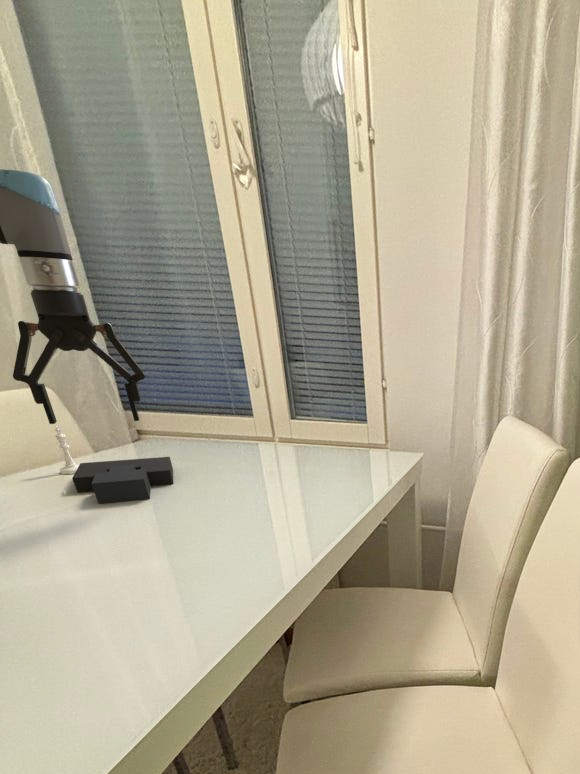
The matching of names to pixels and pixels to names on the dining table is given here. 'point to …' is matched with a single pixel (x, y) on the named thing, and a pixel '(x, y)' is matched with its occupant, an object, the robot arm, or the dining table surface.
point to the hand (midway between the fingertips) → (96, 421)
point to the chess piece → (65, 454)
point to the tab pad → (121, 484)
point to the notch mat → (155, 467)
